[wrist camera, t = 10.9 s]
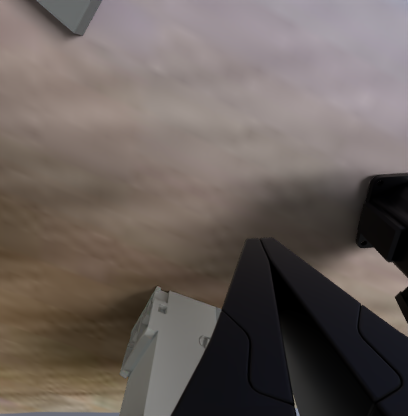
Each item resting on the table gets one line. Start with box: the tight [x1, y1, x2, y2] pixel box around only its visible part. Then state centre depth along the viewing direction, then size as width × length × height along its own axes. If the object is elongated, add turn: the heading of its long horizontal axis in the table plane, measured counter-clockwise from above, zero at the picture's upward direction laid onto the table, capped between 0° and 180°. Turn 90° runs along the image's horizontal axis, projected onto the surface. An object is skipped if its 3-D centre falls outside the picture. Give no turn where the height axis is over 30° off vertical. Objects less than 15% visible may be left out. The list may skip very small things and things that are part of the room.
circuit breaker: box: [119, 286, 221, 416], centre depth 22 cm, size 8×14×15 cm, turn 63°
